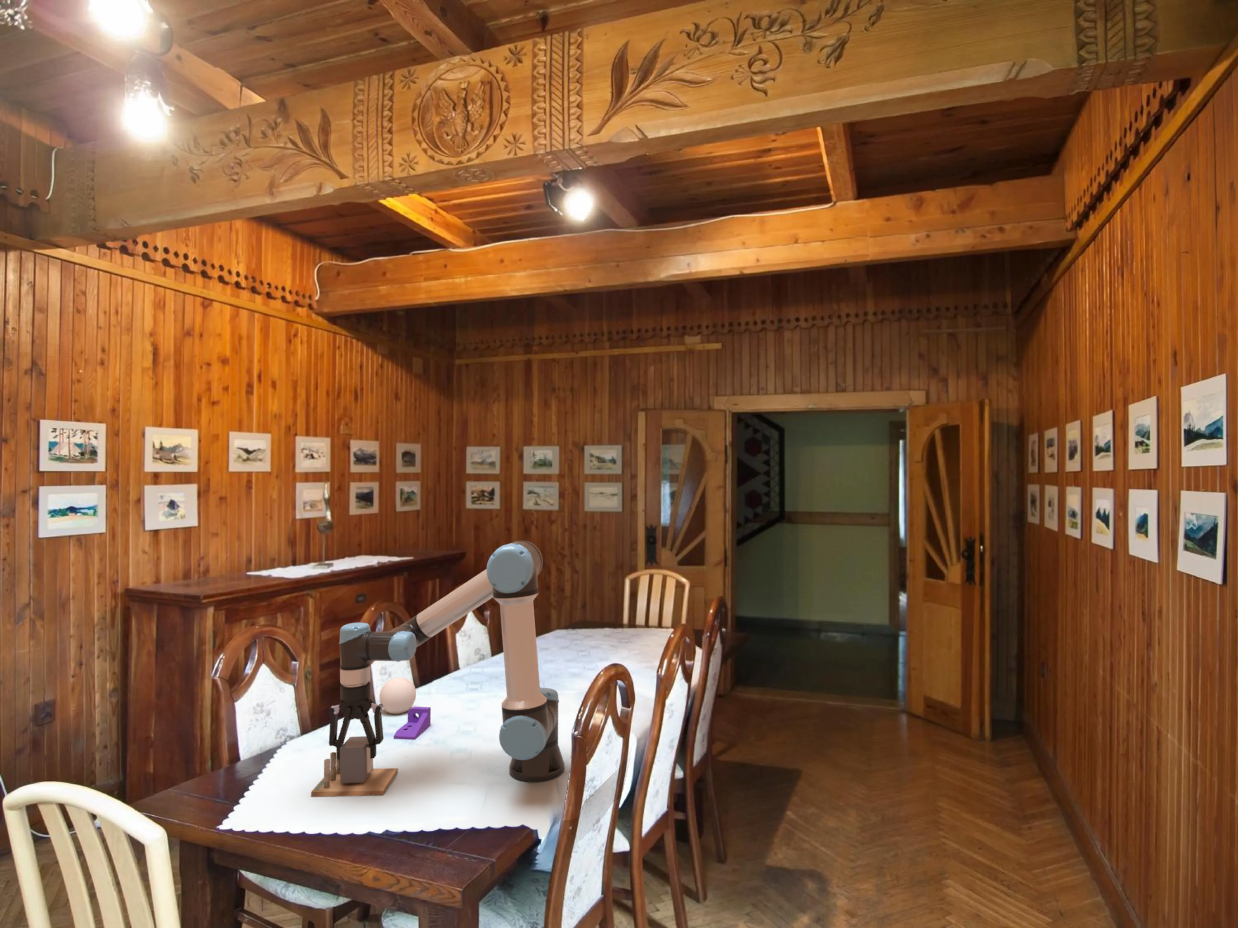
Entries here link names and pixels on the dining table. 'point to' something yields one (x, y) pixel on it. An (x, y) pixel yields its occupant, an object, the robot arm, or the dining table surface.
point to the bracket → (415, 723)
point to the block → (354, 760)
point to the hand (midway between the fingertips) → (356, 770)
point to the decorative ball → (397, 695)
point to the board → (371, 786)
